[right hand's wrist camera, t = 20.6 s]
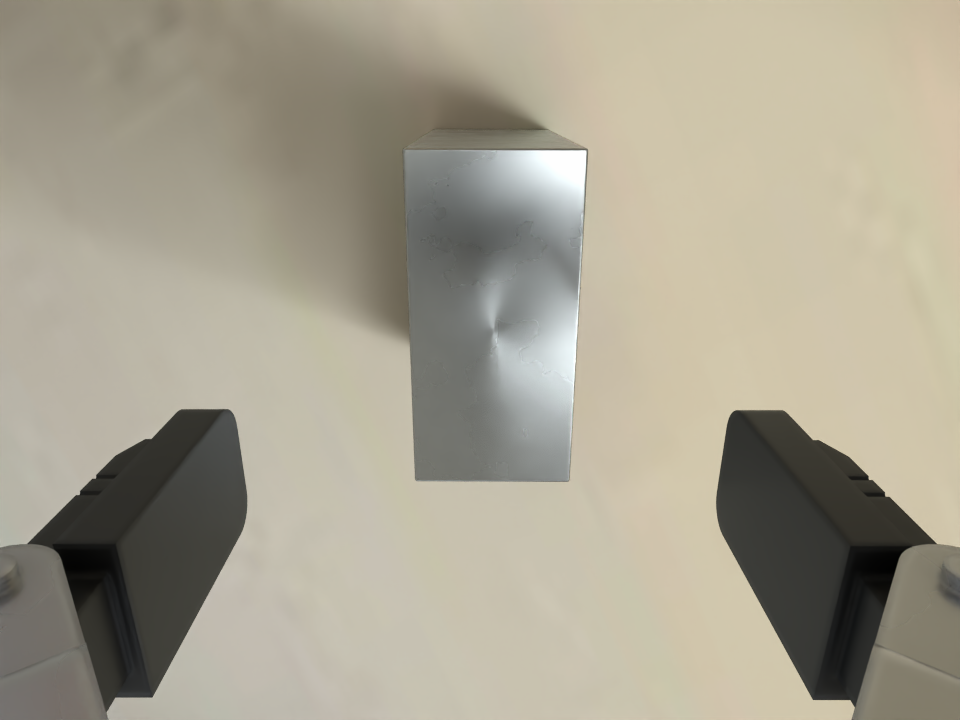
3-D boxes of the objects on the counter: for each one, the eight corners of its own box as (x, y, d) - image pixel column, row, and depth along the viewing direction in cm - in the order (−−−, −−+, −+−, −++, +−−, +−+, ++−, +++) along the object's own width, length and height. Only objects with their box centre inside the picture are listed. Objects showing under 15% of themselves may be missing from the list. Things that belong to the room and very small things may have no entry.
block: (549, 129, 25) (588, 148, 15) (540, 355, 28) (569, 482, 19) (432, 129, 25) (402, 147, 16) (437, 355, 28) (415, 481, 19)
